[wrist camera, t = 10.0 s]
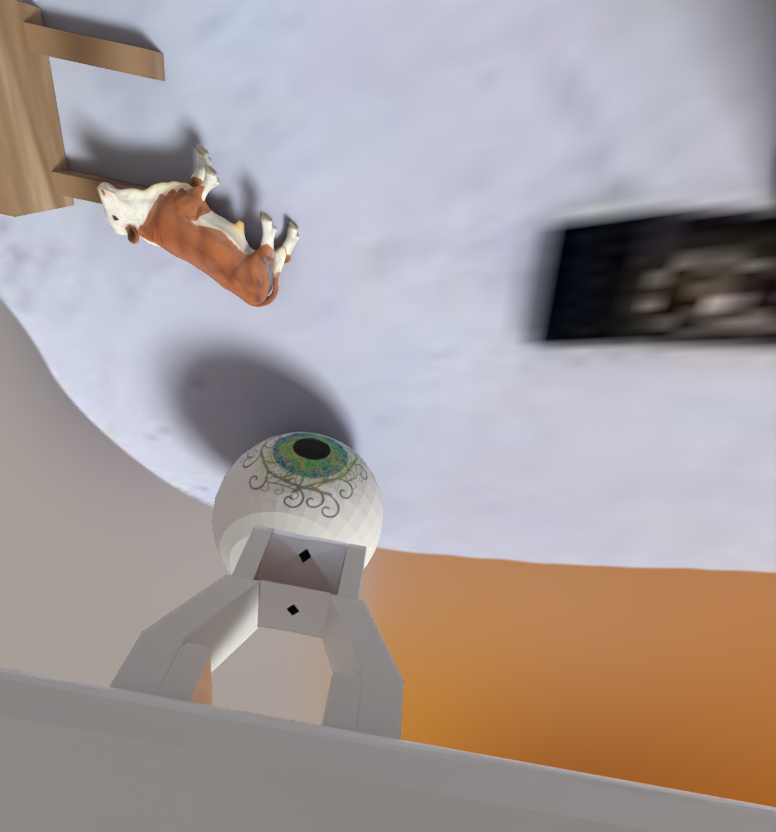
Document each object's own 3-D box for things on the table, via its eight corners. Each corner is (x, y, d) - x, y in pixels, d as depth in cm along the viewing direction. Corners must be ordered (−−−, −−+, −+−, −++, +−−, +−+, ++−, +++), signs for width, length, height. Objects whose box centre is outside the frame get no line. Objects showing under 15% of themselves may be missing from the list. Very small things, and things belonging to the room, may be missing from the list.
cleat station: (161, 34, 30) (106, 14, 25) (174, 226, 36) (132, 241, 31) (17, 2, 30) (-69, -24, 25) (55, 201, 36) (-7, 212, 31)
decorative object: (412, 435, 45) (404, 553, 32) (360, 532, 53) (337, 659, 40) (266, 378, 43) (196, 481, 30) (234, 489, 51) (168, 607, 38)
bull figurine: (128, 112, 27) (76, 221, 31) (313, 255, 34) (253, 331, 37) (149, 102, 30) (100, 201, 34) (314, 234, 37) (259, 306, 41)
